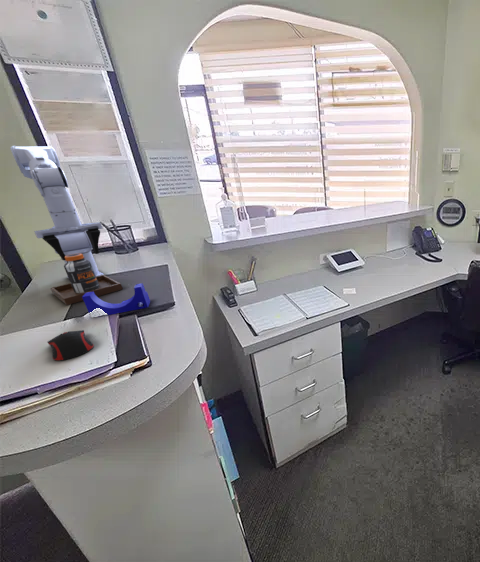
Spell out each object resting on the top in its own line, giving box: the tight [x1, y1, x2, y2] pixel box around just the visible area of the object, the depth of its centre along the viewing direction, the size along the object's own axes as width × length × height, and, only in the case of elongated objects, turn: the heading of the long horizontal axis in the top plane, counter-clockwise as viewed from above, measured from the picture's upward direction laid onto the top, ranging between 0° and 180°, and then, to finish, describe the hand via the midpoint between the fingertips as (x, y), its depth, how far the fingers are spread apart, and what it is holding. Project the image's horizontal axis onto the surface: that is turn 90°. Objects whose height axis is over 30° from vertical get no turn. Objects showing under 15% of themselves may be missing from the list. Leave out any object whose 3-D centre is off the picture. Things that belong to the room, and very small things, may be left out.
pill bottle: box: [63, 253, 100, 293], centre depth 93 cm, size 6×6×11 cm
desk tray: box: [50, 274, 124, 306], centre depth 95 cm, size 15×13×2 cm
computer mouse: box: [47, 329, 95, 362], centre depth 65 cm, size 6×11×4 cm, turn 51°
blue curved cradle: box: [82, 282, 151, 316], centre depth 81 cm, size 12×4×6 cm, turn 117°
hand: (81, 256), depth 95 cm, fingers open, 7 cm apart
